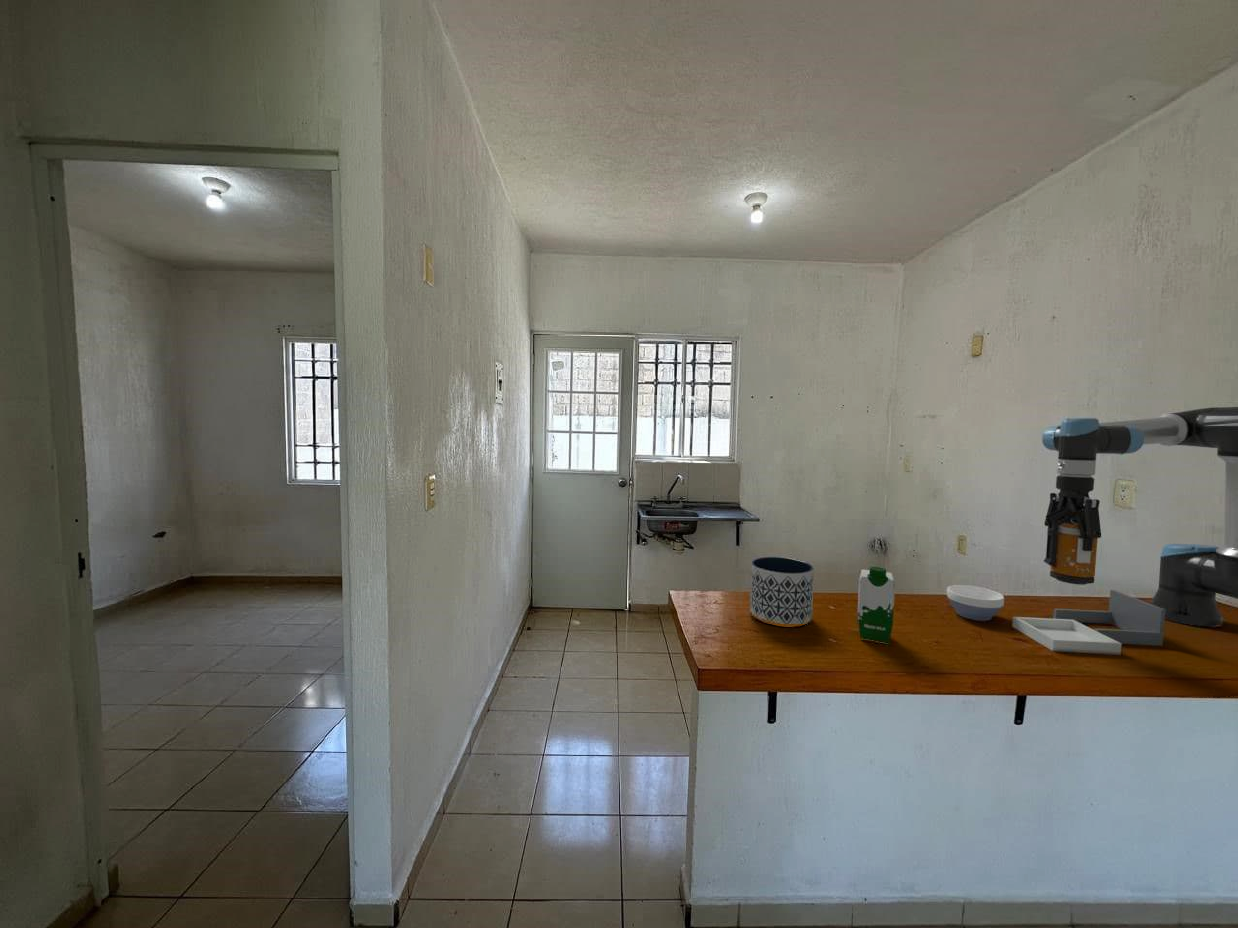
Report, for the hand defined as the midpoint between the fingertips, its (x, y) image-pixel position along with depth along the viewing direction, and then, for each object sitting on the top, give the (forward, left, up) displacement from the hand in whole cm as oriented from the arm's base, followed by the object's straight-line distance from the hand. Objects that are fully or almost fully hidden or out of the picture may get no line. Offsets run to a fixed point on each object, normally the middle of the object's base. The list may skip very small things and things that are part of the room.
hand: (1068, 557), depth 135 cm
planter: (+74, -7, -23) cm, 78 cm away
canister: (0, 0, -7) cm, 7 cm away
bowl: (+14, -16, -23) cm, 32 cm away
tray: (0, 0, -23) cm, 23 cm away
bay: (-16, -8, -23) cm, 29 cm away
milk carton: (+51, +5, -23) cm, 57 cm away
